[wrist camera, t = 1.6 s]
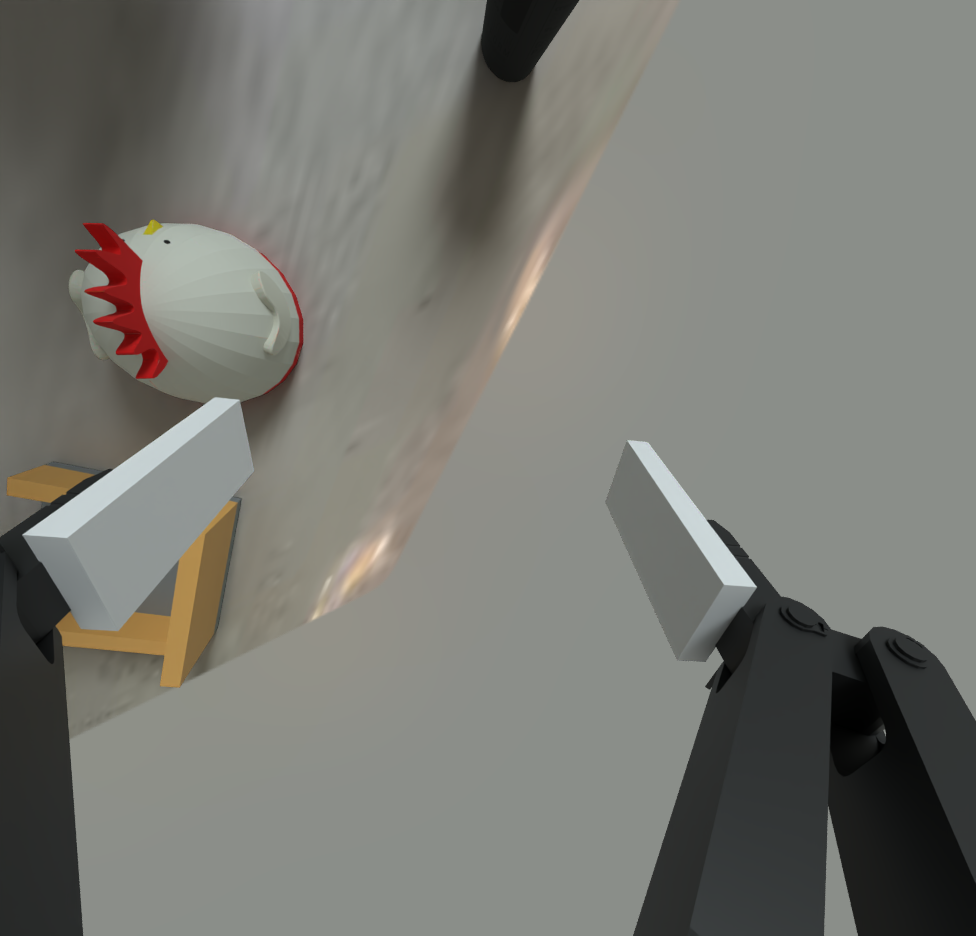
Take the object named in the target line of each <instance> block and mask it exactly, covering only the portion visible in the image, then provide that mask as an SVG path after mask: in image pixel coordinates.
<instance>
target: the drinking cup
mask: <svg viewBox="0 0 976 936" xmlns="http://www.w3.org/2000/svg"><path fill="white" fill-rule="evenodd" d="M578 1H579V0H487V4H486V11H485V18H484V24H483V31H482V51H483V55H484V58H485V61H486V63H487V65H488V67H489V68H490V70H491V71H492V72H493V73H494V74H495V75H496V76H497V77H499V78H500V79H502V80H505V81H508V82H516V81H520V80H522V79H524V78H525V77H526V76H528V74H529V73H530V72H531V71H532V69H533V68H534V66H535V65H536V63H537V62H538V60H539V59H540V57H541V56H542V55H543V53H544V52H545V50H546V49H547V47H548V46H549V44H550V43H551V41H552V40H553V38H554V37H555V35H556V34H557V32H558V31H559V29H560V28H561V26H562V25H563V24H564V22H565V21H566V19H567V18H568V16H569V15H570V13H571V12H572V10H573V9H574V7H575V6H576V4H577V3H578Z"/></svg>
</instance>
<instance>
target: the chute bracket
mask: <svg viewBox="0 0 976 936" xmlns="http://www.w3.org/2000/svg"><path fill="white" fill-rule="evenodd" d="M101 472H103V471H98V470H93V469H88V468H83V467H78V466H73V465H68V464H63V463H58V462H51V463H48V464H46V465H43V466H40V467H37V468H34V469H31V470H28V471H25V472H22V473H19V474H16V475H13V476H11V477H8V478H7V495H8V496H14V497H20V498H25V499H31V500H37V501H42V508H44V507H45V506H46V505H47V506H50V505H51V502H52V501H54V500H55V499H57V498H58V497H60V496H61V495H66V492H67V491H68V490H70V489H71V488H73V487H74V486H76V485H77V484H79V483H80V482H81V481H83V480H84V479H87V478H89V477H91V476H94V475H96V474H99V473H101ZM240 504H241V498H236V497H232V498H231V499H230V500H229V501H228V502H227V504H226V505H225V506H224V507H223V508H222V509H221V511H220V512H219V513H218V514H217V515H216V517H215V518H214V519H213V520H212V521H211V522H210V524H209V525H208V526H207V527H206V528H205V530H204V531H203V532H202V533H201V534H200V535H199V537H198V538H197V539H196V540H195V541H194V542H193V544H192V545H191V546H190V547H189V548H188V550H187V551H186V552H185V553H184V554H183V555H182V557H181V558H180V559H179V560H178V561H177V563H176V564H175V565H174V566H173V567H172V568H171V570H170V571H169V572H168V573H167V574H166V575H165V577H164V578H163V579H162V580H161V581H160V583H159V584H158V585H157V586H156V587H155V588H154V590H153V591H152V592H151V593H150V594H149V595H148V597H147V598H146V599H145V600H144V601H143V603H142V604H141V605H140V606H139V607H138V608H137V610H136V611H135V612H134V613H133V614H132V616H131V617H130V618H129V619H128V620H127V621H126V623H125V624H124V625H123V626H122V627H121V628H120V630H119V631H108V630H89V629H81V628H80V627H79V625H78V623H77V622H76V620H75V619H74V617H73V615H72V614H71V612H69V613H68V614H67V615H66V616H65V617H64V618H63V619H62V620H61V621H60V622H59V623H58V624H57V625H56V627H57V628H58V630H59V632H60V634H61V636H62V645H63V646H71V647H82V648H92V649H103V650H113V651H124V652H134V653H145V654H155V655H165V656H164V662H163V669H162V675H161V682H160V686H166V687H180V686H181V685H182V683H183V682H184V680H185V678H186V677H187V675H188V674H189V672H190V671H191V669H192V667H193V666H194V664H195V663H196V661H197V660H198V658H199V656H200V655H201V653H202V652H203V650H204V649H205V647H206V645H207V644H208V642H209V641H210V639H211V638H212V636H213V634H214V633H215V631H216V630H217V628H218V624H219V618H220V613H221V607H222V602H223V597H224V591H225V586H226V580H227V575H228V569H229V564H230V559H231V553H232V548H233V542H234V537H235V532H236V526H237V521H238V515H239V510H240ZM42 508H41V509H42Z"/></svg>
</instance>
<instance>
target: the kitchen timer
mask: <svg viewBox="0 0 976 936" xmlns="http://www.w3.org/2000/svg"><path fill="white" fill-rule="evenodd" d="M83 225H84V227H85V228H86V229H87V230H88V231H89V233H90V234H91V235H92V236H93V237H94V238H95V240H96V241H97V242H98V243H99V245H100V247H101V248H100V249H98V250H75V252H76V253H77V254H78V255H79V256H80V257H81V258H83V259H84V260H86V261H87V262H89V265H88V266H87V268H86V269H85V271H82V270H75V271H74V272H73V273H72V275H71V276H70V279H69V286H68V287H69V293H70V296H71V299H72V300H73V302H74V303H75V305H76V306H77V307H78V309H79V310H80V312H81V314H82V316H83V318H84V321H85V324H86V327H87V330H88V335H89V340H90V345H91V348H92V351H93V353H94V354H95V356H96V357H97V358H99V359H100V360H107V359H111V360H112V361H113V362H114V363H116V364H117V365H118V366H120V367H121V368H122V369H123V370H125V371H126V372H127V373H129V374H130V375H131V376H132V377H134V378H135V379H136V380H138V381H140V382H142V383H144V384H147V385H149V386H151V387H153V388H155V389H157V390H159V391H162V392H164V393H166V394H169V395H172V396H175V397H177V398H182V399H186V400H191V401H196V402H201V403H208V402H209V401H210V400H212V399H213V398H214V397H218V398H227V399H237V400H240V402H243V401H246V400H249V399H252V398H255V397H258V396H261V395H263V394H266V393H268V392H269V391H271V390H272V389H273V388H275V387H276V386H278V385H279V384H280V383H282V382H283V381H284V380H285V379H286V378H287V376H288V375H289V374H290V372H291V371H292V369H293V368H294V367H295V365H296V364H297V361H298V358H299V355H300V351H301V348H302V345H303V318H302V314H301V311H300V308H299V304H298V301H297V297H296V295H295V293H294V292H293V290H292V288H291V287H290V285H289V283H288V282H287V280H286V279H285V277H284V275H283V274H282V273H281V272H280V271H279V270H278V269H277V268H276V267H275V266H274V265H273V264H272V263H271V262H270V261H269V260H268V259H267V258H266V257H265V256H264V255H263V254H262V253H260V252H259V251H257V250H256V249H254V248H252V247H251V246H249V245H247V244H246V243H244V242H243V241H241V240H239V239H238V238H236V237H234V236H233V235H231V234H228V233H224V232H221V231H218V230H215V229H211V228H208V227H205V226H202V225H197V224H174V223H161V224H159V223H158V222H157V221H155V220H151V221H150V223H149V225H148V226H144V227H141V228H137V229H134V230H130V231H127V232H124V233H121V234H119V235H117V234H116V233H115V232H114V231H113V230H111V229H110V228H109V227H108V226H106V225H105V224H103V223H83Z"/></svg>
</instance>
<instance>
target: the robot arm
mask: <svg viewBox="0 0 976 936" xmlns="http://www.w3.org/2000/svg"><path fill="white" fill-rule="evenodd" d="M253 472H254V467H253V462H252V457H251V452H250V448H249V443H248V438H247V433H246V428H245V423H244V418H243V413H242V409H241V404H240V400H237V399H227V398H218V397H214V398H213V399H212V400H210V401H209V402H208V403H206V404H205V405H203V406H202V407H201V408H199V409H198V410H196V411H195V412H194V413H192V414H191V415H189V416H188V417H187V418H185V419H184V420H182V421H181V422H180V423H178V424H177V425H175V426H174V427H173V428H171V429H170V430H168V431H167V432H166V433H164V434H163V435H161V436H160V437H159V438H157V439H156V440H154V441H153V442H152V443H150V444H149V445H147V446H146V447H145V448H143V449H142V450H140V451H139V452H138V453H136V454H135V455H133V456H132V457H131V458H129V459H128V460H126V461H125V462H124V463H122V464H121V465H119V466H118V467H117V468H115V469H108V470H106V471H103V472H101V473H99V474H96V475H94V476H91V477H89V478H87V479H84V480H83V481H81V482H80V483H79V484H77V485H76V486H74V487H73V488H71V489H70V490H68V491H67V492H66V495H61V496H60V497H58V498H57V499H55V500H54V501H52V502H51V505H50V506H47V505H46V506H45V507H44V508H42V509H41V510H39V511H38V512H36V513H35V514H33V515H32V516H30V517H29V518H28V519H26V520H25V521H23V522H22V523H20V524H19V525H17V526H16V527H14V528H13V529H11V530H10V531H9V532H7V533H6V534H4V535H3V536H1V537H0V936H83V927H82V913H81V898H80V887H79V886H80V885H79V871H78V856H77V843H76V828H75V815H74V800H73V786H72V772H71V759H70V743H69V729H68V715H67V701H66V687H65V673H64V659H63V645H62V636H61V634H60V632H59V630H58V628H57V627H56V625H57V624H58V623H59V622H60V621H61V620H62V619H63V618H64V617H65V616H66V615H67V614H68V613H69V612H71V614H72V615H73V617H74V619H75V620H76V622H77V623H78V625H79V627H80V628H81V629H89V630H108V631H119V630H120V628H121V627H122V626H123V625H124V624H125V623H126V621H127V620H128V619H129V618H130V617H131V616H132V614H133V613H134V612H135V611H136V610H137V608H138V607H139V606H140V605H141V604H142V603H143V601H144V600H145V599H146V598H147V597H148V595H149V594H150V593H151V592H152V591H153V590H154V588H155V587H156V586H157V585H158V584H159V583H160V581H161V580H162V579H163V578H164V577H165V575H166V574H167V573H168V572H169V571H170V570H171V568H172V567H173V566H174V565H175V564H176V563H177V561H178V560H179V559H180V558H181V557H182V555H183V554H184V553H185V552H186V551H187V550H188V548H189V547H190V546H191V545H192V544H193V542H194V541H195V540H196V539H197V538H198V537H199V535H200V534H201V533H202V532H203V531H204V530H205V528H206V527H207V526H208V525H209V524H210V522H211V521H212V520H213V519H214V518H215V517H216V515H217V514H218V513H219V512H220V511H221V509H222V508H223V507H224V506H225V505H226V504H227V502H228V501H229V500H230V499H231V498H232V497H233V495H234V494H235V493H236V492H237V491H238V489H239V488H240V487H241V486H242V485H243V484H244V482H245V481H246V480H247V479H248V478H249V477H250V475H251V474H252V473H253ZM606 505H607V507H608V509H609V511H610V514H611V516H612V518H613V520H614V522H615V524H616V527H617V529H618V531H619V533H620V536H621V538H622V540H623V542H624V544H625V547H626V549H627V551H628V553H629V555H630V558H631V560H632V562H633V564H634V566H635V569H636V571H637V573H638V575H639V577H640V580H641V582H642V584H643V586H644V589H645V591H646V593H647V595H648V597H649V600H650V602H651V604H652V606H653V608H654V611H655V613H656V615H657V617H658V619H659V622H660V624H661V626H662V628H663V630H664V633H665V635H666V637H667V639H668V642H669V644H670V646H671V648H672V650H673V653H674V654H675V657H676V659H677V660H681V661H700V662H706V660H707V659H708V657H709V656H710V654H711V653H712V652H713V650H714V649H715V647H717V649H718V651H719V653H720V655H721V656H722V658H723V660H724V662H723V663H722V664H721V665H720V667H719V668H718V670H717V671H716V672H715V674H714V675H713V676H712V678H711V679H710V681H709V682H708V683H707V685H706V686H705V687H706V688H708V689H711V687H712V689H711V692H710V695H709V699H708V702H707V705H706V708H705V711H704V714H703V717H702V720H701V724H700V727H699V730H698V733H697V736H696V739H695V743H694V746H693V749H692V752H691V755H690V758H689V761H688V764H687V768H686V771H685V774H684V777H683V780H682V783H681V787H680V790H679V793H678V796H677V799H676V803H675V806H674V809H673V812H672V815H671V818H670V821H669V824H668V828H667V831H666V834H665V837H664V840H663V843H662V847H661V850H660V853H659V856H658V859H657V862H656V865H655V868H654V872H653V875H652V878H651V881H650V884H649V887H648V890H647V894H646V897H645V900H644V903H643V906H642V909H641V912H640V916H639V919H638V922H637V925H636V928H635V931H634V934H633V936H824V915H825V913H824V912H825V883H826V882H825V881H826V852H827V851H826V850H827V820H828V819H827V818H828V806H829V810H830V815H831V819H832V824H833V828H834V833H835V837H836V841H837V846H838V849H839V854H840V859H841V863H842V868H843V872H844V876H845V881H846V885H847V889H848V893H849V898H850V902H851V907H852V911H853V916H854V919H855V924H856V928H857V933H858V936H976V721H975V719H974V717H973V716H972V714H971V712H970V710H969V709H968V707H967V705H966V704H965V702H964V700H963V698H962V697H961V695H960V693H959V691H958V690H957V688H956V686H955V685H954V683H953V681H952V679H951V678H950V676H949V674H948V673H947V671H946V669H945V667H944V666H943V665H942V664H941V663H940V661H939V660H938V658H937V657H936V656H935V655H934V654H932V653H931V652H930V651H929V650H928V649H927V648H926V647H924V645H922V644H921V643H919V642H918V641H915V639H913V638H911V637H909V636H907V635H905V634H902V633H900V632H898V631H896V630H893V629H889V628H886V627H873V628H872V629H871V630H870V631H869V632H868V633H867V634H866V635H865V636H864V637H863V638H862V639H860V638H856V637H853V636H850V635H847V634H843V633H841V632H837V631H834V630H831V629H830V627H829V626H828V625H827V623H826V622H825V621H824V619H823V618H821V617H820V616H819V615H818V614H817V613H816V612H814V611H813V610H812V609H810V608H809V607H807V606H805V605H804V604H802V603H800V602H798V601H795V600H792V599H790V598H786V597H781V596H780V595H779V594H778V592H777V591H776V590H775V589H774V587H773V586H772V585H771V584H770V582H769V581H768V580H767V579H766V577H765V576H764V575H763V574H762V572H761V571H760V570H759V569H758V567H757V566H756V565H755V564H754V562H753V561H752V560H751V559H749V558H748V557H749V556H748V555H747V554H746V552H745V551H744V550H743V549H742V548H740V545H739V544H738V542H737V541H736V540H735V539H734V537H733V536H732V535H731V534H730V532H728V531H727V530H726V529H725V528H723V527H722V526H720V525H719V524H718V523H717V522H716V521H714V520H706V519H705V518H704V516H703V515H702V514H701V512H700V511H699V510H698V508H697V507H696V506H695V504H694V503H693V502H692V501H691V500H690V498H689V497H688V495H687V494H686V493H685V491H684V490H683V489H682V487H681V486H680V485H679V483H678V482H677V481H676V479H675V478H674V477H673V475H672V474H671V473H670V471H669V470H668V469H667V467H666V466H665V465H664V463H663V462H662V461H661V459H660V458H659V457H658V455H657V454H656V453H655V452H654V450H653V449H652V447H651V446H650V445H649V443H648V442H640V441H630V440H627V442H626V445H625V447H624V450H623V453H622V456H621V459H620V462H619V464H618V467H617V470H616V473H615V476H614V479H613V482H612V485H611V487H610V490H609V493H608V496H607V499H606ZM884 729H885V730H886V736H885V734H884V731H883V730H884Z"/></svg>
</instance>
